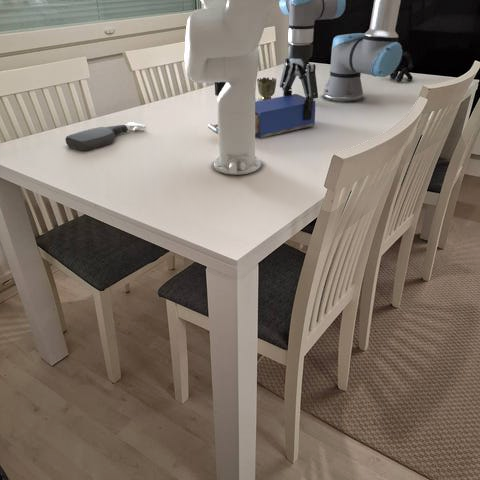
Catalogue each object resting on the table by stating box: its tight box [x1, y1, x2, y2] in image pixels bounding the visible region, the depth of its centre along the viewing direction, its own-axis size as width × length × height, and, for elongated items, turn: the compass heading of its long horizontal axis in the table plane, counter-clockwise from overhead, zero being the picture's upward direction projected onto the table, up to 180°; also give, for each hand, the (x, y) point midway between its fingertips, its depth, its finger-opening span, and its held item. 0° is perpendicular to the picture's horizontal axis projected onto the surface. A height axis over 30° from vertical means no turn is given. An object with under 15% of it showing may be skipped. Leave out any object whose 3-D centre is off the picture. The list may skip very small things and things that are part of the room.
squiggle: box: [389, 51, 414, 83], centre depth 198 cm, size 11×10×15 cm
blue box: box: [255, 93, 317, 139], centre depth 144 cm, size 20×11×8 cm, turn 118°
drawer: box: [207, 113, 259, 135], centre depth 140 cm, size 24×10×6 cm, turn 118°
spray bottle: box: [64, 121, 147, 152], centre depth 139 cm, size 3×11×24 cm
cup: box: [256, 77, 277, 101], centre depth 173 cm, size 8×7×8 cm
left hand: (221, 95), depth 132 cm, fingers closed
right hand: (296, 115), depth 147 cm, fingers closed on blue box, 11 cm apart
